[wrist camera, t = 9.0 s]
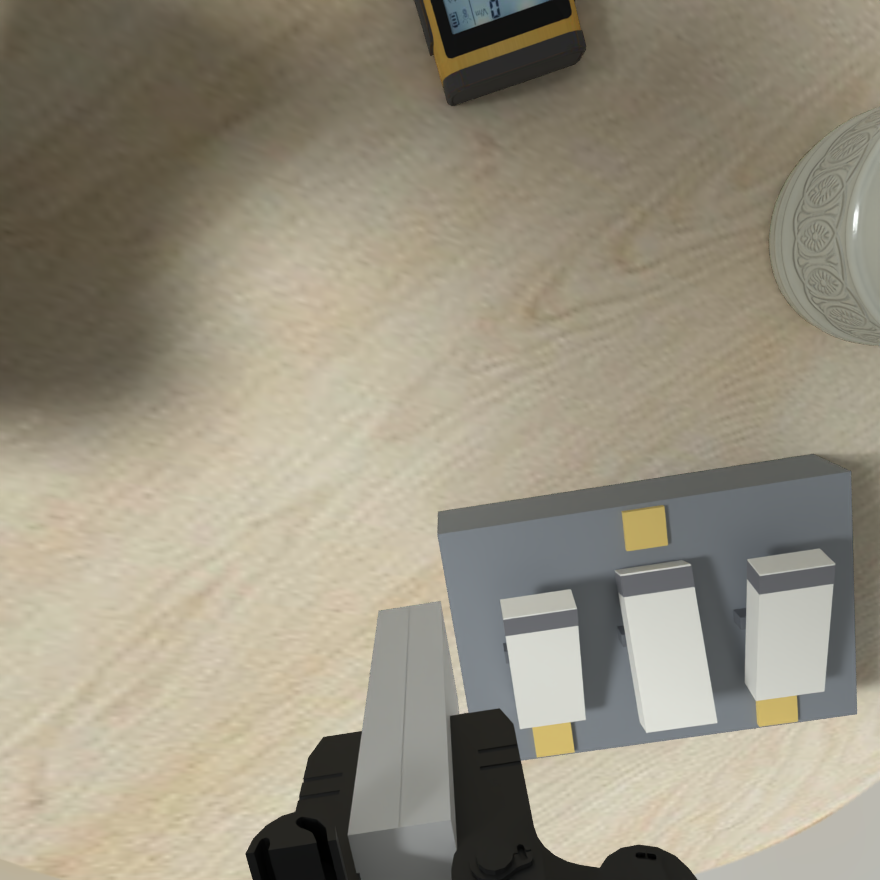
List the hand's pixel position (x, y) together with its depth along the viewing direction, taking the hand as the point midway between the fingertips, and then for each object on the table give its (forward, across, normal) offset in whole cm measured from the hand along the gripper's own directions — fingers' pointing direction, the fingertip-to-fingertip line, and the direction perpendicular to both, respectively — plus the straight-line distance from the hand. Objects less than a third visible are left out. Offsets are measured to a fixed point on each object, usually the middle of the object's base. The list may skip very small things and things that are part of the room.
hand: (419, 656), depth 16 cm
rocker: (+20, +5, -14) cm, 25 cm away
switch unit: (+26, +12, -14) cm, 32 cm away
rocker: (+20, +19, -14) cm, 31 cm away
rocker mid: (+20, +12, -14) cm, 27 cm away
